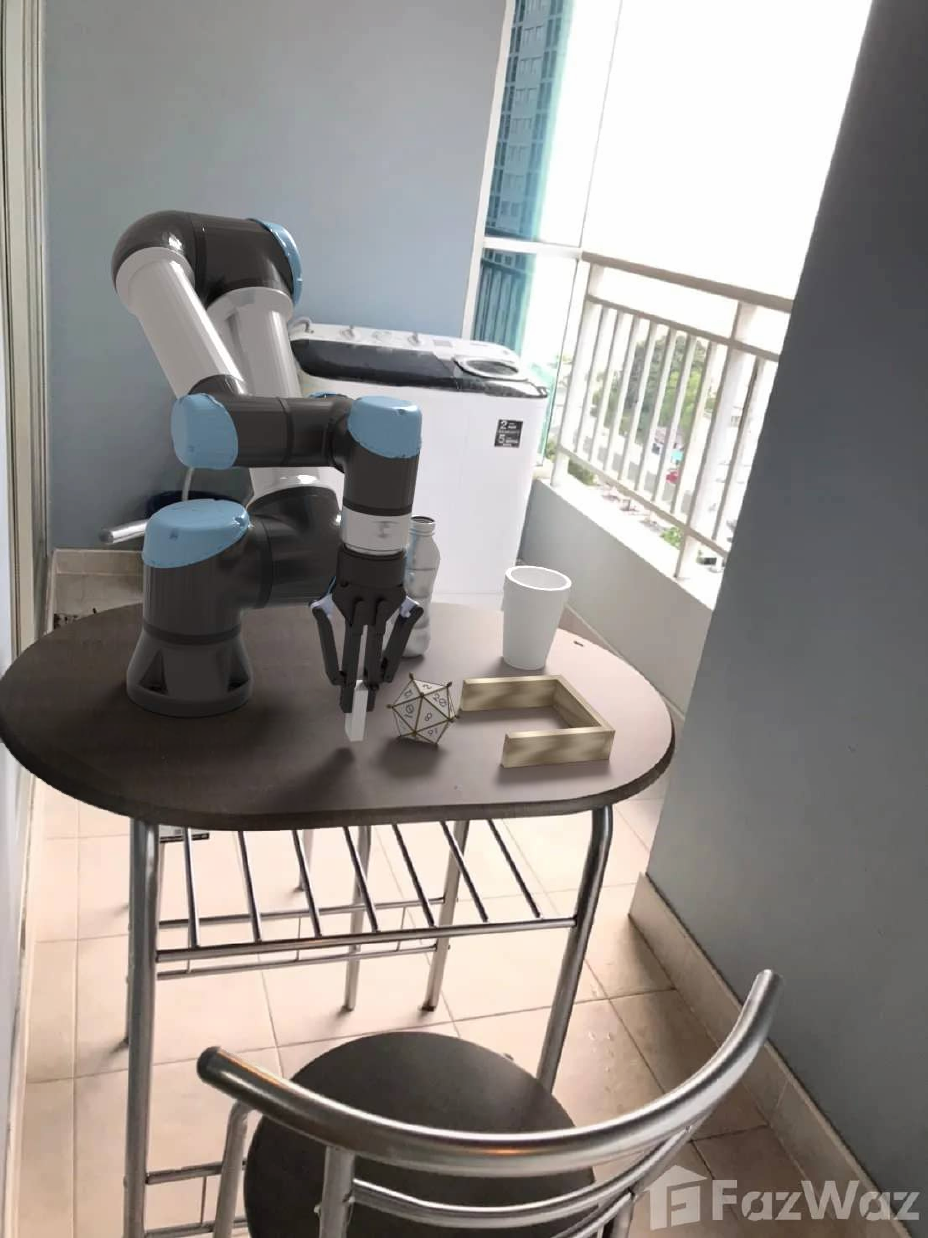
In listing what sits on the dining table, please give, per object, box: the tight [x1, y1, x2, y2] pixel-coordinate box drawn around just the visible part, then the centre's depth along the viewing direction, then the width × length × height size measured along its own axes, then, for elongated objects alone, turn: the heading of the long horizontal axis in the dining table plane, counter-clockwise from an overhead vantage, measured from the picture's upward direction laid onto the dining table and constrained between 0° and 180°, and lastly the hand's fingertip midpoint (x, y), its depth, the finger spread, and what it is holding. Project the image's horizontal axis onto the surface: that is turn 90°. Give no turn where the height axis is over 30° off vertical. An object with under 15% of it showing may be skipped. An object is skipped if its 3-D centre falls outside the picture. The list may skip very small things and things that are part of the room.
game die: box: [385, 672, 462, 751], centre depth 120 cm, size 9×8×10 cm
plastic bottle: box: [384, 514, 441, 658], centre depth 140 cm, size 6×7×20 cm
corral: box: [459, 674, 616, 769], centre depth 127 cm, size 14×15×4 cm
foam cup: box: [502, 565, 573, 671], centre depth 145 cm, size 10×9×13 cm
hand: (353, 735), depth 118 cm, fingers closed
